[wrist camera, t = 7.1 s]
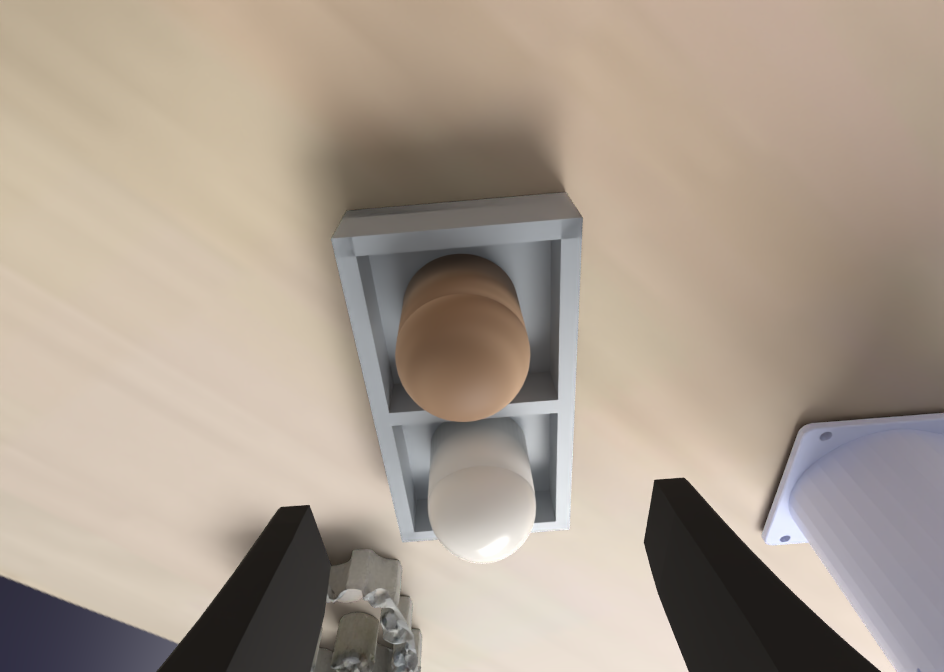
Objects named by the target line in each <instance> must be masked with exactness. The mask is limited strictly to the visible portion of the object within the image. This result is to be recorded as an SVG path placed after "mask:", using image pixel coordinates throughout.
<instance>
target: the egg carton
mask: <svg viewBox="0 0 944 672" xmlns="http://www.w3.org/2000/svg"><path fill="white" fill-rule="evenodd" d="M401 577H402V566H401V563H400V561H399V560H390V559H385V558H382V557H380V556H379V555H377V554H376V553H375V552H374V551H373V550H371V549H362V550H359V549H357V550H353V551H352V557H351V559H350V560H349V561H348V562H346V563H343V564H341V565H336V566H331V569H330V577H329V585H328V593H327V599H326V602H327V603H329V602H333V603H334V602H335V601H338V602H342V603H352V602H356V601H359V600H361V599H362V598H363V599H362V600H368V601H369V603H370V604H371V606H372V607H374V608H375V607H380V608H382V610H381V617H380V623H381V626H382V628H383V639H384V640H385V641H387V642H389V643H391V644H394V646H393V650H392V649H388V648H387V647H385V646H383V645H380V644H377V638H378V629H379V621H378V620H377V619H376V618H375V617H373V616H372V615H369V614H366V613H360V612H355V613H349V614H346V615H344V616H343V617H342V618H341V619H340V622H339V627H338V631H337V637H336V642H335V647H334V651H333V652H332V651H330V650H328V649H323V648H319V645H320V641H321V636H322V627H321V631H320V635H319V639H318V643H317V647H316V651H315V655H314V659H313V663H312V667H311V671H310V672H421V652H422V634H421V631H420V630H419V629H411V626H412V611H413V604H412V600H411V598H410V597H406V596H400V590H401Z"/></svg>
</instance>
